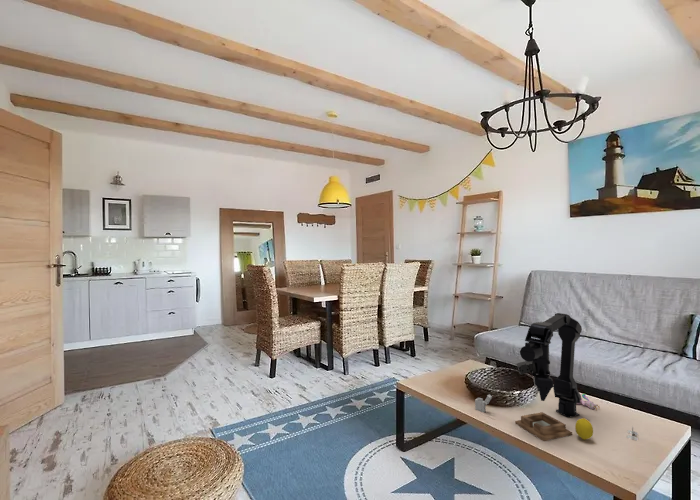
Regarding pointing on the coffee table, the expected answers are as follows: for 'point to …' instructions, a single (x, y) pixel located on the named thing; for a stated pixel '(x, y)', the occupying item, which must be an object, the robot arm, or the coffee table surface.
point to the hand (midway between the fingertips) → (540, 395)
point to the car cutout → (632, 434)
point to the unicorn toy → (588, 403)
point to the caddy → (543, 426)
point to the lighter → (482, 403)
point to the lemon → (584, 429)
